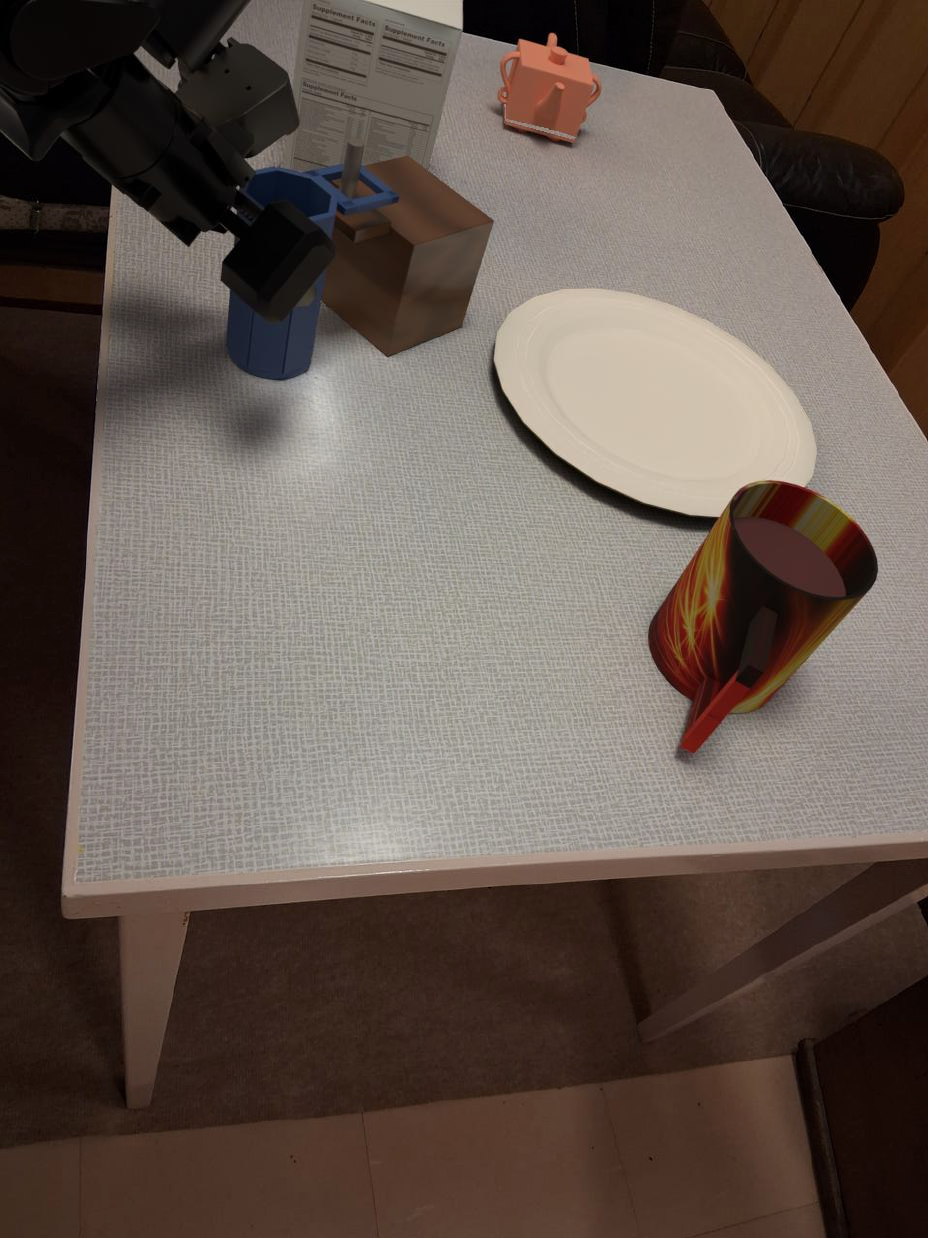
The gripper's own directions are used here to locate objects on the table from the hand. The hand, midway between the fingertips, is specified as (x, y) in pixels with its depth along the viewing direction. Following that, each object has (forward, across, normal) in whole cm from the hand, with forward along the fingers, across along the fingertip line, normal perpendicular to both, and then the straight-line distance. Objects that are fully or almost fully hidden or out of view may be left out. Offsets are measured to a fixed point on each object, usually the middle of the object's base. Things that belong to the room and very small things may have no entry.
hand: (268, 262), depth 68 cm
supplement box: (+24, +18, -13) cm, 32 cm away
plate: (+24, -21, -13) cm, 34 cm away
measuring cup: (+8, 0, +3) cm, 9 cm away
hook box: (+14, 0, -3) cm, 14 cm away
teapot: (+45, +19, -34) cm, 59 cm away
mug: (+10, -42, +1) cm, 43 cm away
